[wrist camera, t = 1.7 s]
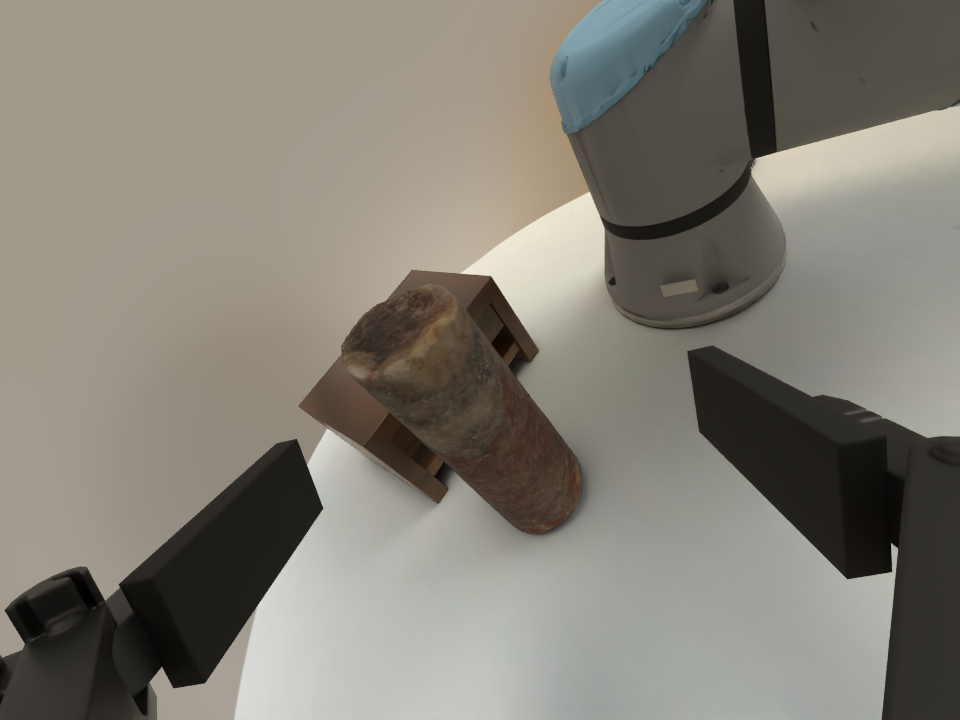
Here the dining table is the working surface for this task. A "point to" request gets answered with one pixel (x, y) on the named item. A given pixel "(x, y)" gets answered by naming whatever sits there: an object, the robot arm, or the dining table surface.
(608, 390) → the dining table surface
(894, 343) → the dining table surface
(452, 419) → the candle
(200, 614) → the robot arm
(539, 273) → the dining table surface
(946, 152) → the dining table surface
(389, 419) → the shelf
